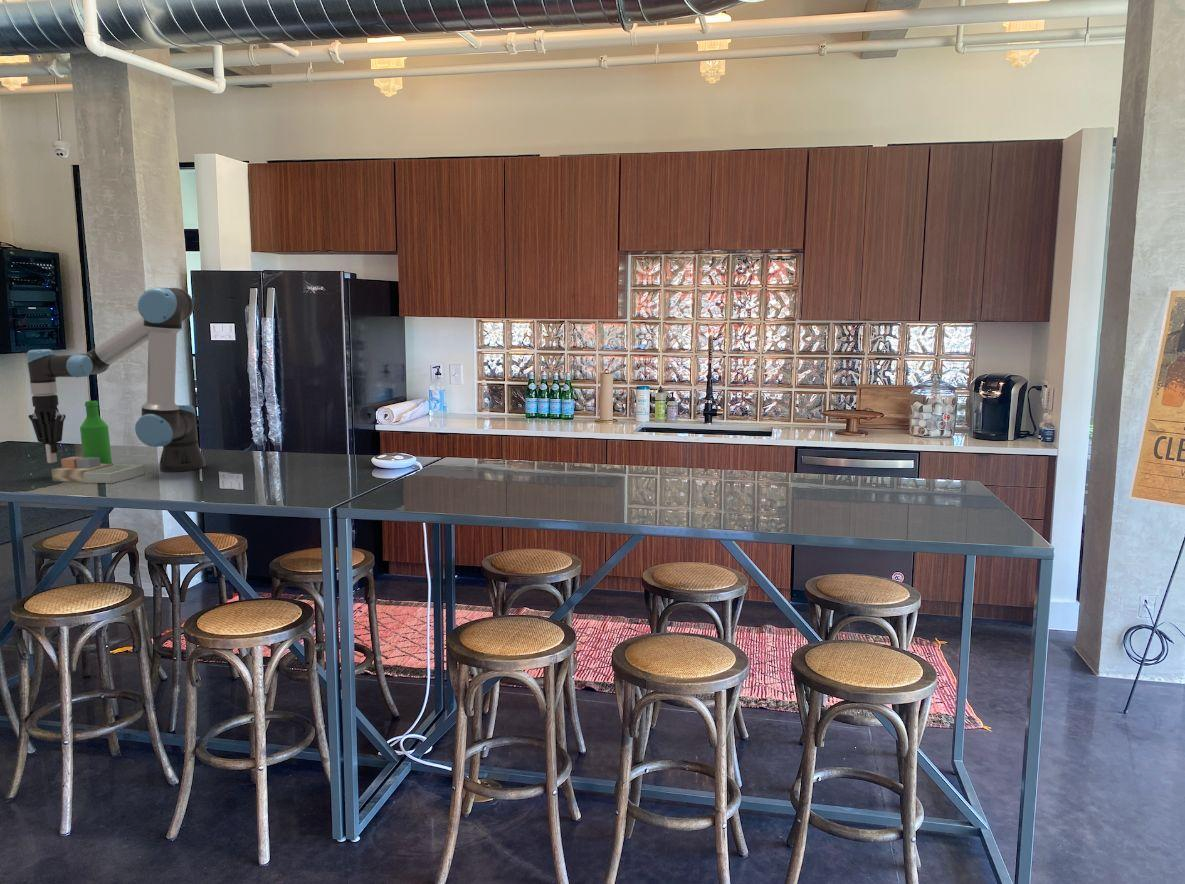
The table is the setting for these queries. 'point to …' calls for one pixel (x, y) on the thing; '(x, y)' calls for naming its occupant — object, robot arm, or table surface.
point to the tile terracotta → (70, 462)
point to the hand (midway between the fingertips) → (52, 462)
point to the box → (113, 473)
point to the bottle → (95, 435)
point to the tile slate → (88, 462)
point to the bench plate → (73, 473)
